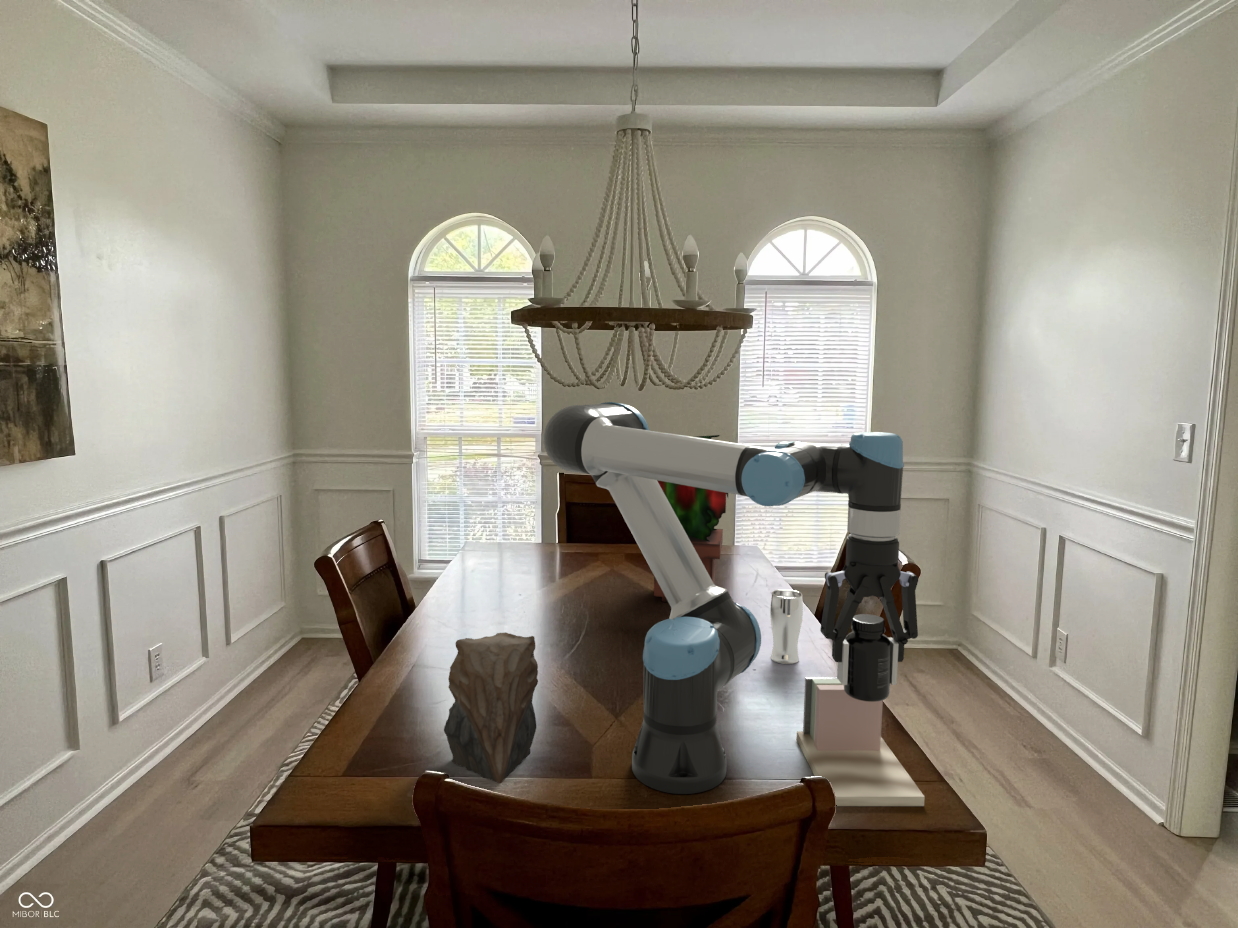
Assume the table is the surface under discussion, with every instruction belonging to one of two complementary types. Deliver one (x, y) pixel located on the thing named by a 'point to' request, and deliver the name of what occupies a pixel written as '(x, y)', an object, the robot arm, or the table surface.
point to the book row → (843, 718)
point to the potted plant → (697, 520)
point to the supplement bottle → (868, 659)
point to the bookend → (809, 702)
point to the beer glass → (786, 625)
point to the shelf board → (862, 775)
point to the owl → (492, 704)
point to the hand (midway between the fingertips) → (866, 680)
